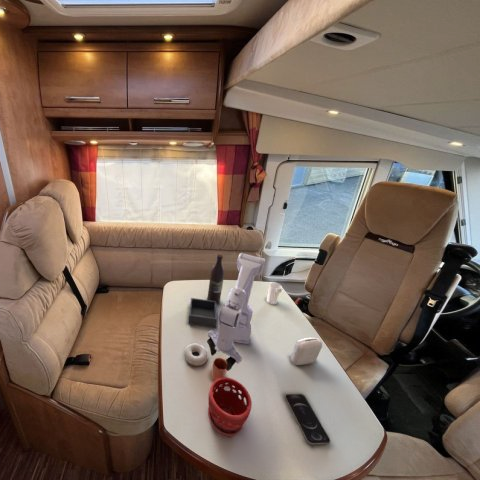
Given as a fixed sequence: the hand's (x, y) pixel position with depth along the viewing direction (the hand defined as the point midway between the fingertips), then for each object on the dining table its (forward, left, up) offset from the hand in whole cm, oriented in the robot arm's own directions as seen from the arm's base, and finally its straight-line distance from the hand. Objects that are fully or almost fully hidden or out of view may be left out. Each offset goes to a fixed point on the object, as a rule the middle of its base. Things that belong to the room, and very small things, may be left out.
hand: (220, 361), depth 89 cm
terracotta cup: (0, 0, -9) cm, 9 cm away
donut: (+9, -8, -10) cm, 15 cm away
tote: (+7, -33, -9) cm, 35 cm away
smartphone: (-29, +9, -9) cm, 32 cm away
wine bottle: (+1, -46, -10) cm, 47 cm away
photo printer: (-36, -15, -10) cm, 40 cm away
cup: (-32, -53, -10) cm, 63 cm away
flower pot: (-2, +14, -10) cm, 17 cm away
